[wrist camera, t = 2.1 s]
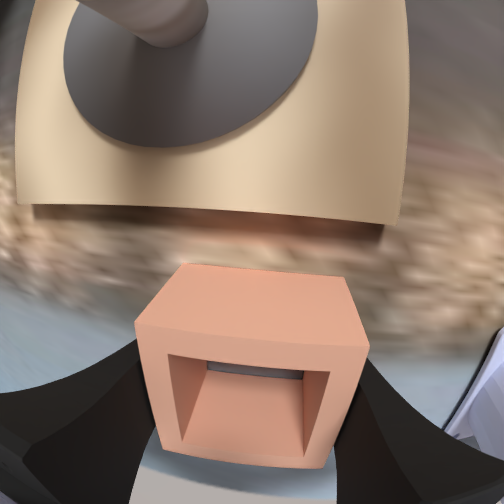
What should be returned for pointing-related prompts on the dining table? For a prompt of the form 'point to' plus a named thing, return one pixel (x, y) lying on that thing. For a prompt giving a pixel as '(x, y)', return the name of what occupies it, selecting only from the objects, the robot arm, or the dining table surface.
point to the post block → (216, 106)
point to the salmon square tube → (251, 364)
